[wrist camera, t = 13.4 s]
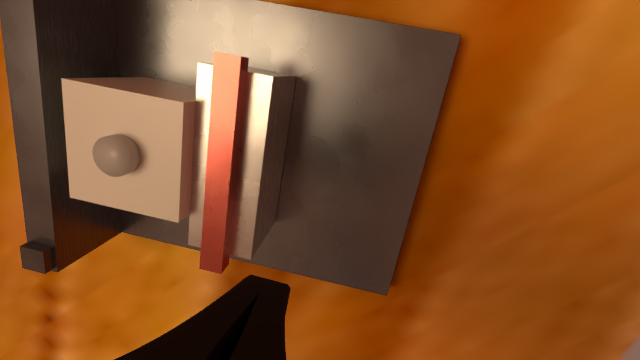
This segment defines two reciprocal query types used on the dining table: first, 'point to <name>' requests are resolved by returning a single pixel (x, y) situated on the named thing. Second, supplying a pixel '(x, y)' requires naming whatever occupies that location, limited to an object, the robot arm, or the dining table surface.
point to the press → (303, 134)
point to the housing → (130, 143)
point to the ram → (236, 157)
